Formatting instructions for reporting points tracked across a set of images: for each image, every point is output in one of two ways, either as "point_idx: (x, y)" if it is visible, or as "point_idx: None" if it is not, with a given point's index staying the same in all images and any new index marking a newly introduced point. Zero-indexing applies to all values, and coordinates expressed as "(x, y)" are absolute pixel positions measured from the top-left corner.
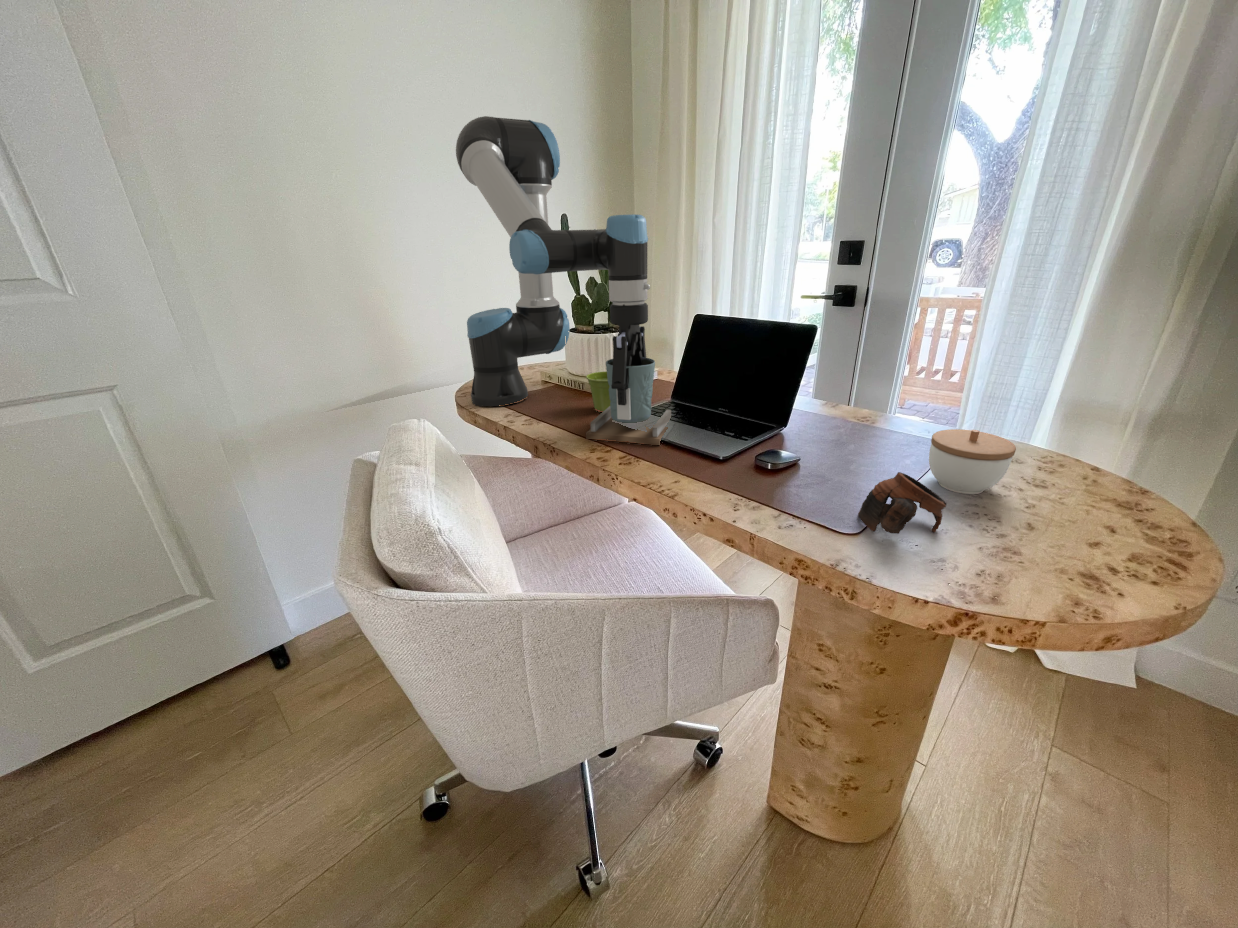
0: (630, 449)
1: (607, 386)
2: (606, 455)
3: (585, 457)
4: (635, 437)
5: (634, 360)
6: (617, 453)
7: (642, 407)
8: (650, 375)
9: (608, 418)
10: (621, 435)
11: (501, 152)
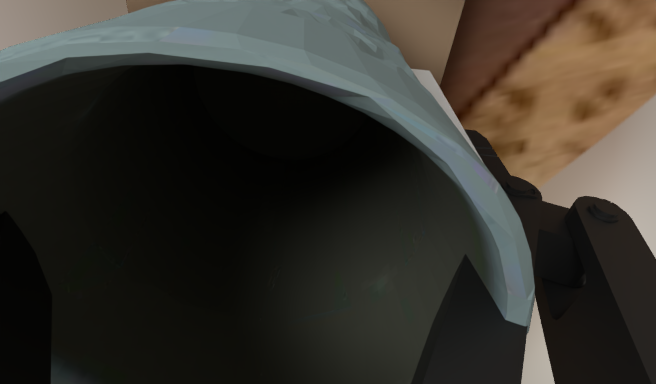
0: (514, 12)
1: None
2: (561, 94)
3: (563, 156)
4: (460, 9)
5: (31, 314)
6: (550, 58)
7: (377, 23)
8: (336, 30)
9: None
10: (436, 80)
11: None
